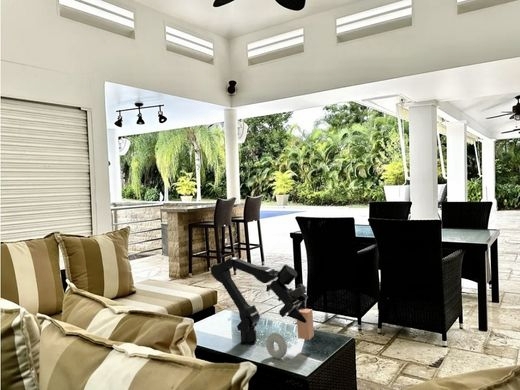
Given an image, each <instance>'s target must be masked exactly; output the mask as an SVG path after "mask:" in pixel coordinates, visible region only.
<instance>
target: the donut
mask: <svg viewBox="0 0 520 390" xmlns="http://www.w3.org/2000/svg"><path fill="white" fill-rule="evenodd" d="M284 338H285V337H283V336H282V335H281V334H279V333H277V332H272V333H270V334H269V335H268V336H267V337H266V340H265V347H266V350H267V353H268V354H269V355H270V356H271V357H272V358H273V359H279V360H281V359H282V358H284V357H285V356H286V354H287V351H288V346H287V342H286V340H285V339H284ZM275 343H276V344H277V346H278V349H277V348H276V346H275Z"/></svg>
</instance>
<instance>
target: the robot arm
mask: <svg viewBox="0 0 520 390" xmlns="http://www.w3.org/2000/svg"><path fill="white" fill-rule="evenodd" d="M232 268H234V269H236V270H239V271H242V272H243V273H246V274H249V275H252V276H253V277H254V278H255V279H256V280H257V281H259V282H261V283H262V284H266V293H268V292H270V291H272V293H274V294H275V296H277V301H278V302H281V303H283V307H281V308H280V310H279V311H278V313H279V316H280V317H281V318H285V316H286V317H289V318H292V319H295V320H296V321H297V320H299V321H301V322H303V323H305V322H306V320H305V318H304V317H303V315H302V314H301V313H300V311H299V310H300V309H301V308H302V309H308V307H307V305H306V303H307V299H308V297H309V296H308V295H307V290H306V289H307V287H306V286H305V285H304V284H303V283H300V284H298V285H296V286H297V287H296V288H294V289H293V288H291V287H290V288H289V287H288V286H289V285H290V284H291V283H292V282H293V281H294V280H295V279H296V278H297V276H298V271H296V270H295V268H293V267H292V266H289V265H288V264H284V265H283V266H282V268H280V270H275V269H274V268H273V267H270V266H269V267H268V266H259V265H256V264H253V263H251V262H248V261H246V260H243V259H241V258H238V257H236V256H232V257H229V258H227V259H226V260H225V261H223V262H220V263H217V264H213V265H212V266H211V269H210V273H211V276H212V277H213V278H214V279H215V280H216V281H217V282H219V283H220V284H222V286H223V288H224V290H225V291H226V292H227V294H228V296H229V297H230V299H231V300H232V302H233V303H234V305H235V306H236V308H237V309H238V315H239V319H240V321H239V323H238V324H237V325H236V328H237V330H238V331H240V343H239V344H240V345H255V344H256V342H257V340H258V337H257V336H258V335H257V330H256V327H257V325H258V323H259V322H260V318H261V316H260V314H259V313H260V312H259V311H258V309H257V308H256V306H255V305H254V304H253V305H250V304H249V303H248V302H247V300H246V299H245V297H244V296H243V294H242V293H241V291H240V290H239V288H238V287H237V285H236V283H235V282H234V280H233V278H232V275H231V274H232V273H231V270H232ZM267 283H269V284H267ZM287 285H288V286H287Z"/></svg>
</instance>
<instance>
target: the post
mask: <svg viewBox="0 0 520 390" xmlns="http://www.w3.org/2000/svg"><path fill="white" fill-rule="evenodd" d="M299 311H300V313H301V314H302V315H303V317H304V318H305V320H306V322H305V323H303V322H301V321H299V320H297V319H296V324H297V325H296V326H297V339H299V340H300V339H301V340H309V341H310V340H311V339H312V338H313V337H314V336H315V332H314V318H313V317H314V315H313V313H314V312H313V309H312V308H311V309H310V308H307V309H302V308H301V309H300V310H299Z"/></svg>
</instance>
